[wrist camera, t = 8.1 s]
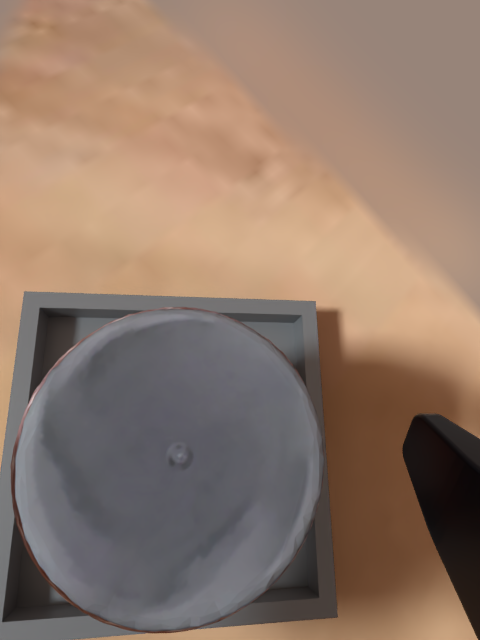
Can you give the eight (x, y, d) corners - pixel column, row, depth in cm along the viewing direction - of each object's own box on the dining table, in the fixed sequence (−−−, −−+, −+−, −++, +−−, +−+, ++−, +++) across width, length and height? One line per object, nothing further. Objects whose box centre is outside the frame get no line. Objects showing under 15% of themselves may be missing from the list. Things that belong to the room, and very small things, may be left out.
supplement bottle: (278, 423, 17) (465, 380, 6) (200, 572, 15) (276, 879, 4) (151, 345, 17) (121, 172, 6) (56, 483, 15) (-216, 569, 4)
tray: (319, 598, 16) (337, 617, 14) (0, 623, 14) (-23, 647, 13) (302, 313, 19) (315, 301, 17) (38, 306, 17) (24, 291, 16)
